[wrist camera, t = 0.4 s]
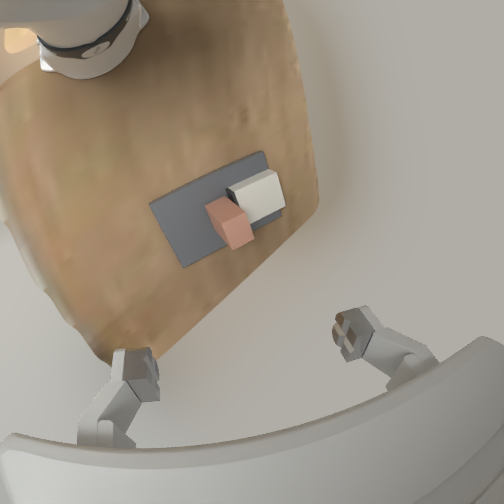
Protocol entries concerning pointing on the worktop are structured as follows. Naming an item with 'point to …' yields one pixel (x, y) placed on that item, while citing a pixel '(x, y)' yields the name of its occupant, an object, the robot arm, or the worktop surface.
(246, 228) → the salmon pink rectangular block
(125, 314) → the worktop surface
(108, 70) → the robot arm
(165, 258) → the worktop surface
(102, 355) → the worktop surface
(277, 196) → the stand
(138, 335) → the worktop surface
